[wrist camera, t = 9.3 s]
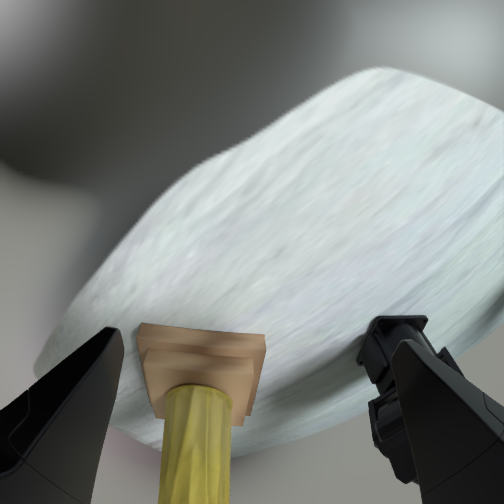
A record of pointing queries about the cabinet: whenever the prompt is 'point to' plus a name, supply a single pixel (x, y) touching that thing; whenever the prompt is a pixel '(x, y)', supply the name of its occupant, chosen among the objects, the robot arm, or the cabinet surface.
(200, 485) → the vase
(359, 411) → the cabinet surface
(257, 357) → the pedestal
